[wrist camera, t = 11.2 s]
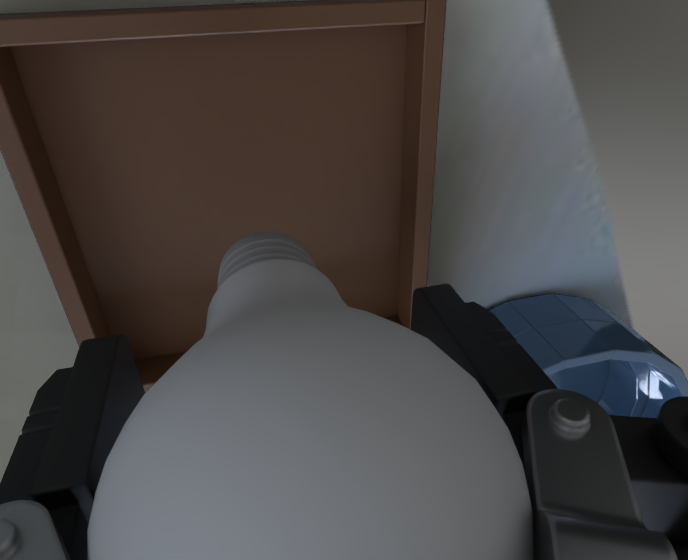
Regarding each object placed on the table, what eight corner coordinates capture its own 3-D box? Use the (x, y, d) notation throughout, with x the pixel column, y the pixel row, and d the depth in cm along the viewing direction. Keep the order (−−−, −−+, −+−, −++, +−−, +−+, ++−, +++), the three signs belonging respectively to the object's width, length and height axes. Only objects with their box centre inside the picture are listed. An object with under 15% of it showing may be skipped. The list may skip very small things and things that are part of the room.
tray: (110, 367, 19) (101, 405, 18) (-19, 15, 13) (-53, 20, 11) (405, 316, 22) (423, 345, 20) (419, -5, 15) (447, -3, 14)
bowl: (378, 512, 29) (405, 592, 25) (381, 318, 21) (419, 390, 18) (589, 460, 31) (641, 525, 28) (656, 270, 24) (739, 324, 20)
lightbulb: (169, 123, 12) (42, 665, 2) (398, 185, 14) (780, 591, 5) (132, 332, 14) (1, 975, 5) (329, 356, 16) (488, 832, 7)
